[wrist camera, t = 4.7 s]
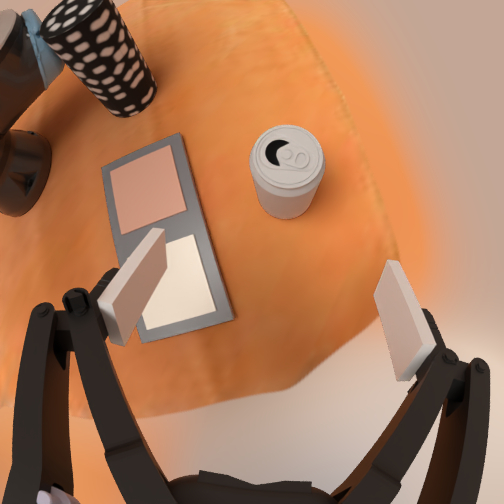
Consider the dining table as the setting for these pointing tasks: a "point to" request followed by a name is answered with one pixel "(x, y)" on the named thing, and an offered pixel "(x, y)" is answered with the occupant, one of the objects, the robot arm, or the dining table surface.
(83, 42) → the spotted tube
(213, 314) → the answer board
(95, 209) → the dining table surface
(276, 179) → the beverage can
